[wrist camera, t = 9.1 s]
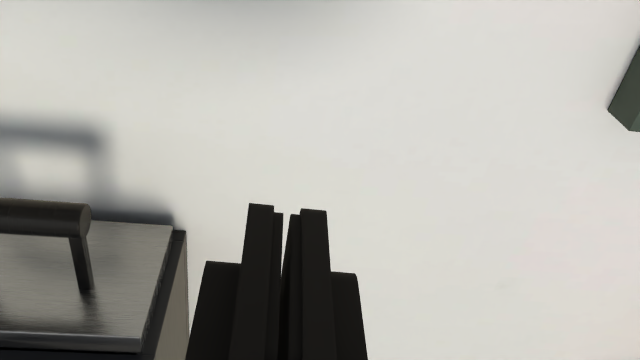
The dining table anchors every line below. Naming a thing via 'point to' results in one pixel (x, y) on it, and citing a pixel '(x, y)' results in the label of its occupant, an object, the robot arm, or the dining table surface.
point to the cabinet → (166, 324)
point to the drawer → (77, 278)
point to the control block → (628, 98)
